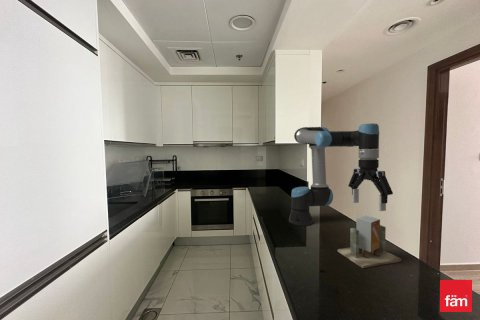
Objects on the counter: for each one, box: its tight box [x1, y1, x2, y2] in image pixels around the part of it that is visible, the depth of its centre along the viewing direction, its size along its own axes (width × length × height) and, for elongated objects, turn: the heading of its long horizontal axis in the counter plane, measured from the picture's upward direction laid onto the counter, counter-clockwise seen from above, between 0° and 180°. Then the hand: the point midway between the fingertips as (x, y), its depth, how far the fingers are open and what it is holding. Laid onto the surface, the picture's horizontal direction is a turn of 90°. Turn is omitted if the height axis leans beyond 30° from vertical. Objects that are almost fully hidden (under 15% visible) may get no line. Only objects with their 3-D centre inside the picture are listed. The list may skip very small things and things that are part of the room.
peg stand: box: [337, 224, 402, 269], centre depth 87 cm, size 14×20×13 cm
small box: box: [355, 215, 381, 252], centre depth 87 cm, size 8×6×13 cm
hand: (368, 206), depth 87 cm, fingers open, 13 cm apart
